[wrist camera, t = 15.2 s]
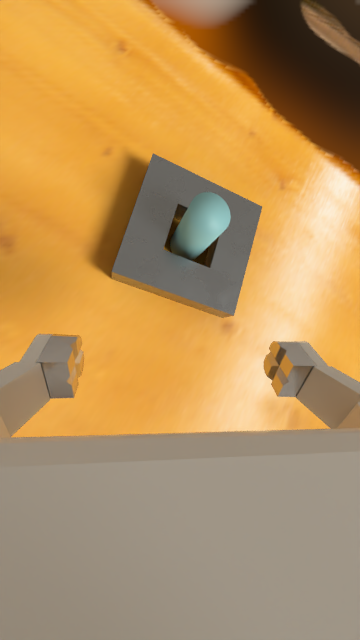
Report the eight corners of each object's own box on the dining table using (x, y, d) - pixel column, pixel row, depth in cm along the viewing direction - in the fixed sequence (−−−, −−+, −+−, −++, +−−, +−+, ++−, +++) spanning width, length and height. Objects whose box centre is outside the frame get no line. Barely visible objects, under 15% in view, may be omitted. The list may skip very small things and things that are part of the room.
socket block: (111, 278, 27) (111, 271, 24) (149, 171, 29) (153, 153, 26) (222, 317, 30) (233, 315, 27) (249, 218, 32) (262, 206, 30)
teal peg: (165, 254, 29) (184, 224, 21) (175, 224, 30) (196, 184, 22) (196, 266, 30) (224, 241, 22) (204, 237, 31) (235, 203, 23)
